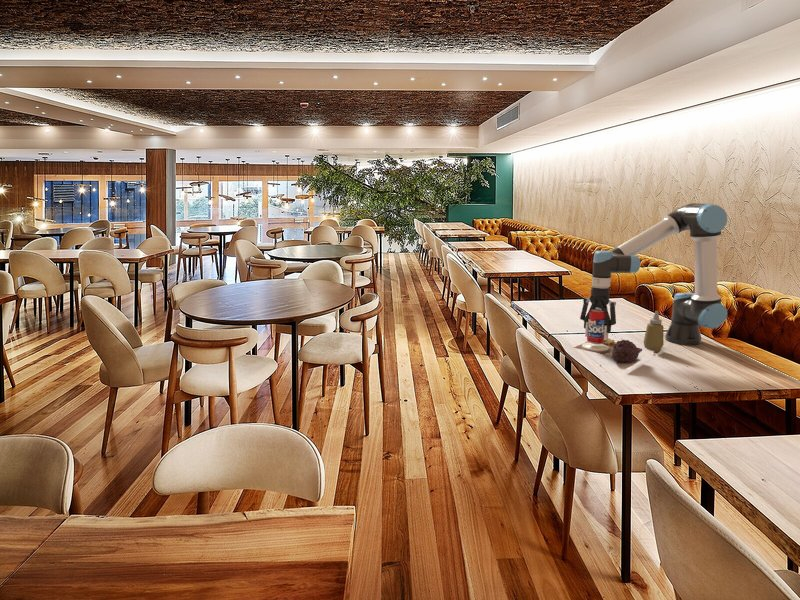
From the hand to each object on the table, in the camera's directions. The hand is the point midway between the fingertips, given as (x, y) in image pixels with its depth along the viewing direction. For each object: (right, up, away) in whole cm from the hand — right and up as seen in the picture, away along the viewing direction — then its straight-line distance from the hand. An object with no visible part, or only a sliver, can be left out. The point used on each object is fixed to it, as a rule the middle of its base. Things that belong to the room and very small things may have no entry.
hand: (596, 337), depth 235 cm
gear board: (+3, -5, +4) cm, 8 cm away
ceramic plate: (0, -4, +1) cm, 5 cm away
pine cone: (+5, -10, -16) cm, 19 cm away
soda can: (0, -2, +1) cm, 2 cm away
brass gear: (+7, -3, +8) cm, 11 cm away
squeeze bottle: (+26, -6, +2) cm, 26 cm away
